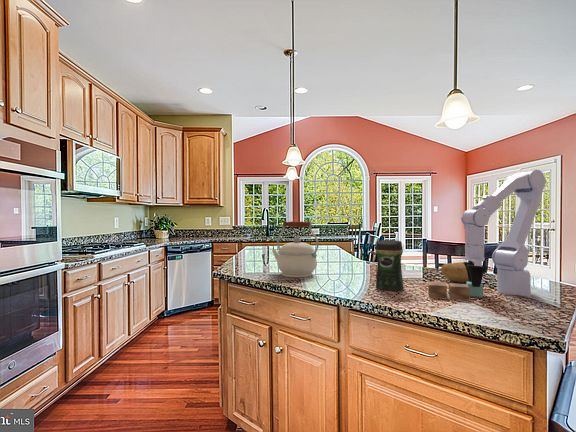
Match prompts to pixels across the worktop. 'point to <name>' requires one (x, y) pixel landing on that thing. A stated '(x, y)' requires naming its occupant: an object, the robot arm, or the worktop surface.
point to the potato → (455, 272)
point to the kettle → (296, 254)
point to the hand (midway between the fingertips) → (474, 284)
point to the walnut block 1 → (437, 290)
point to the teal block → (475, 290)
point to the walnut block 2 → (458, 291)
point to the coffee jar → (389, 265)
